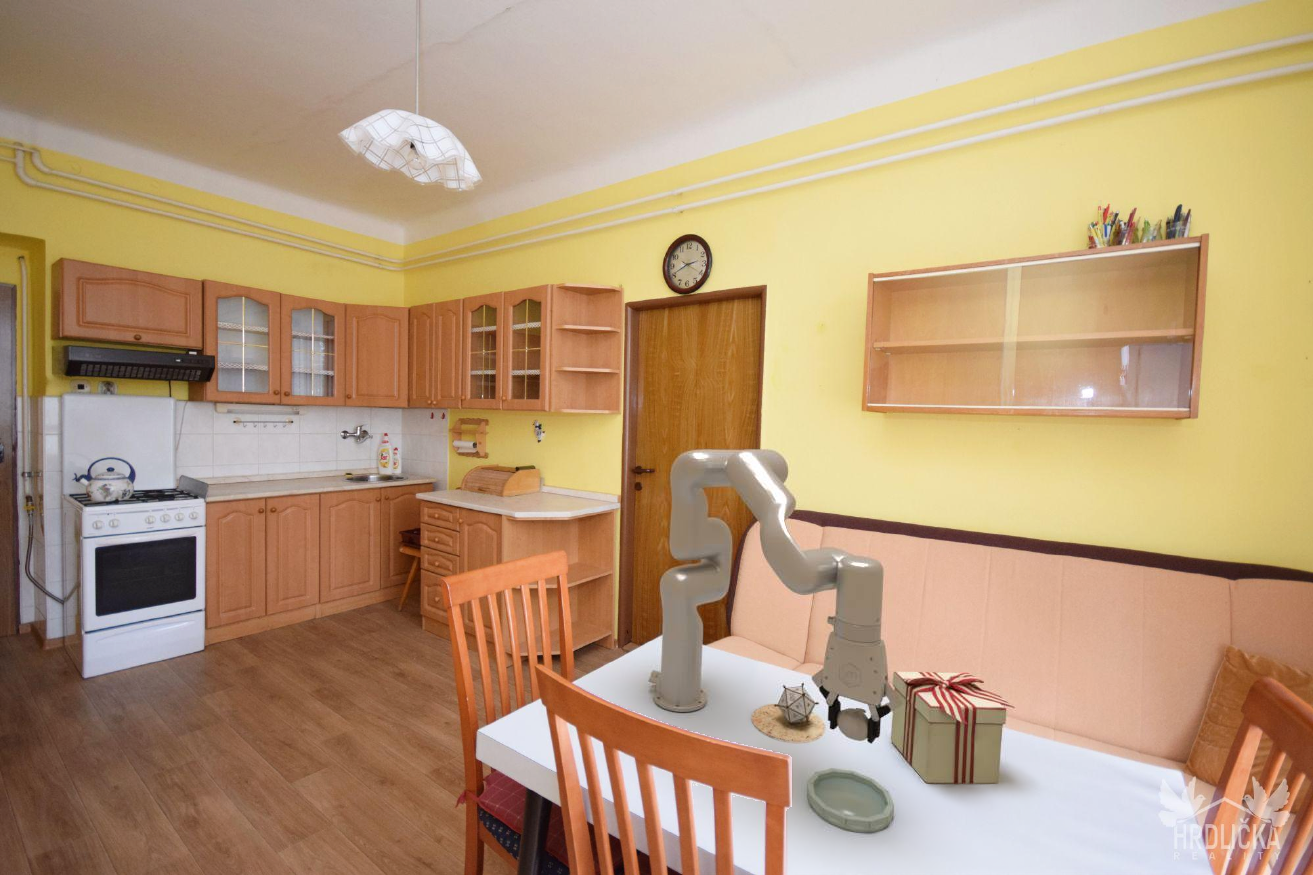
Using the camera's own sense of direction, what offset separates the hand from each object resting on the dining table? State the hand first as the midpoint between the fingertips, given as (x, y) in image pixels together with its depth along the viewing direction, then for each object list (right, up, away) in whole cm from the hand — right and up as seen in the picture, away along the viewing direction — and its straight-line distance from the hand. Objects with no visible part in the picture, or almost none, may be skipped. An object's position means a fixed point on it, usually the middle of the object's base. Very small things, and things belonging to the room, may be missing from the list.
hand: (853, 731), depth 100 cm
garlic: (0, -1, 0) cm, 1 cm away
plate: (-1, -13, 0) cm, 13 cm away
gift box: (+23, -14, +13) cm, 30 cm away
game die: (-3, -12, +28) cm, 31 cm away
